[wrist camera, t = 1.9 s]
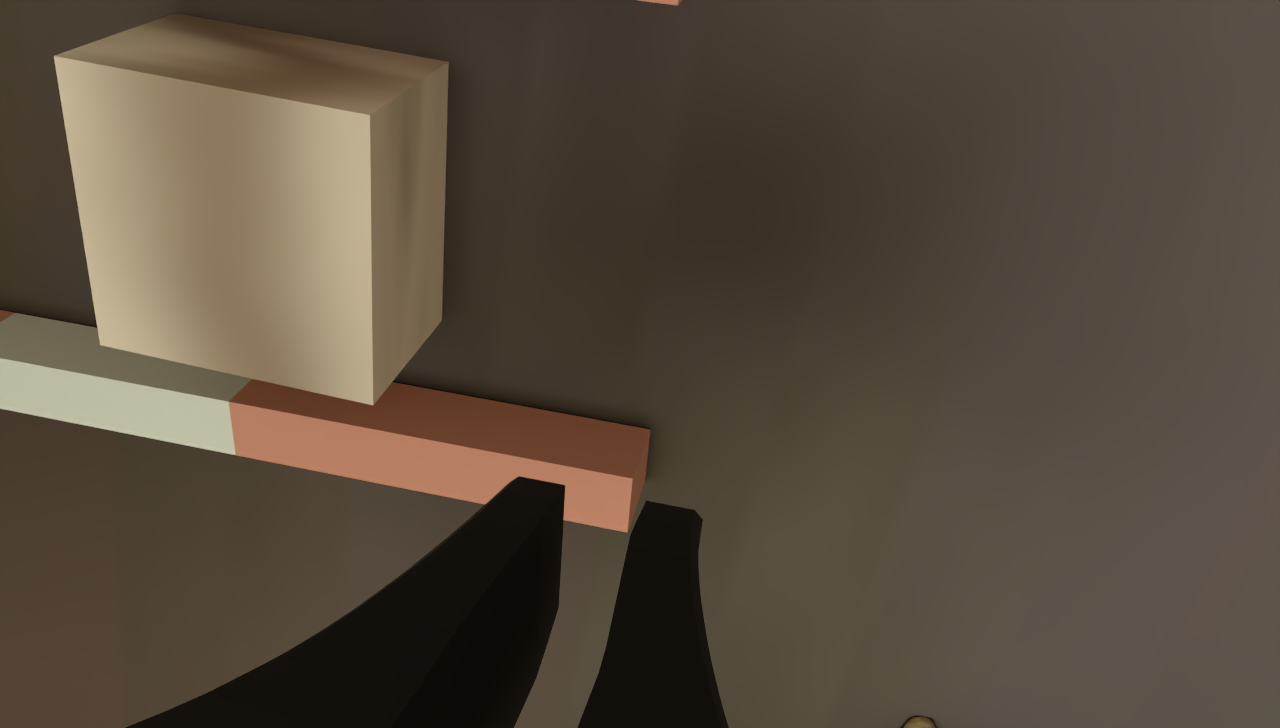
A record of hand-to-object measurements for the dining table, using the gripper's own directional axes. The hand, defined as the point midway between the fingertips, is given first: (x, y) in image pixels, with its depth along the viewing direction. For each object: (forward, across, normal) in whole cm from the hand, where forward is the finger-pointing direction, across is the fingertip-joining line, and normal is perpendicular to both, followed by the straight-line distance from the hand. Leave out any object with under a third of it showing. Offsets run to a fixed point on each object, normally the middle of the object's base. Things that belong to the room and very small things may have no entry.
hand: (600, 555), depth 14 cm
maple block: (+11, +9, 0) cm, 14 cm away
